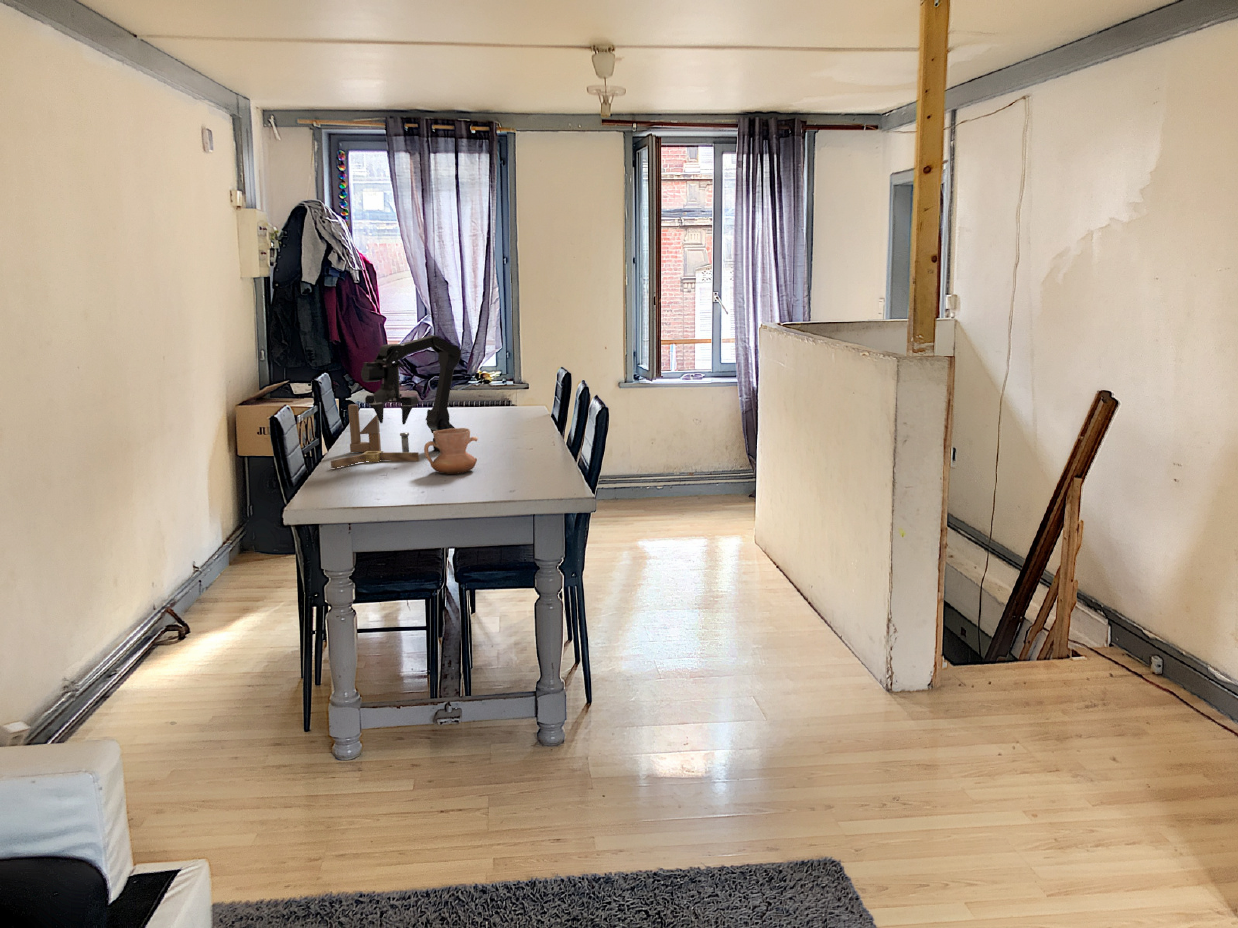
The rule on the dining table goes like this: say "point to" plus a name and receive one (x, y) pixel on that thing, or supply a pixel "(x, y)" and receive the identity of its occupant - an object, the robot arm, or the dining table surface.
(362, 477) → the dining table surface
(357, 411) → the wooden block
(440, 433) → the ceramic jug
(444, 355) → the robot arm
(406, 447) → the hinge pin
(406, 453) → the tan piece
